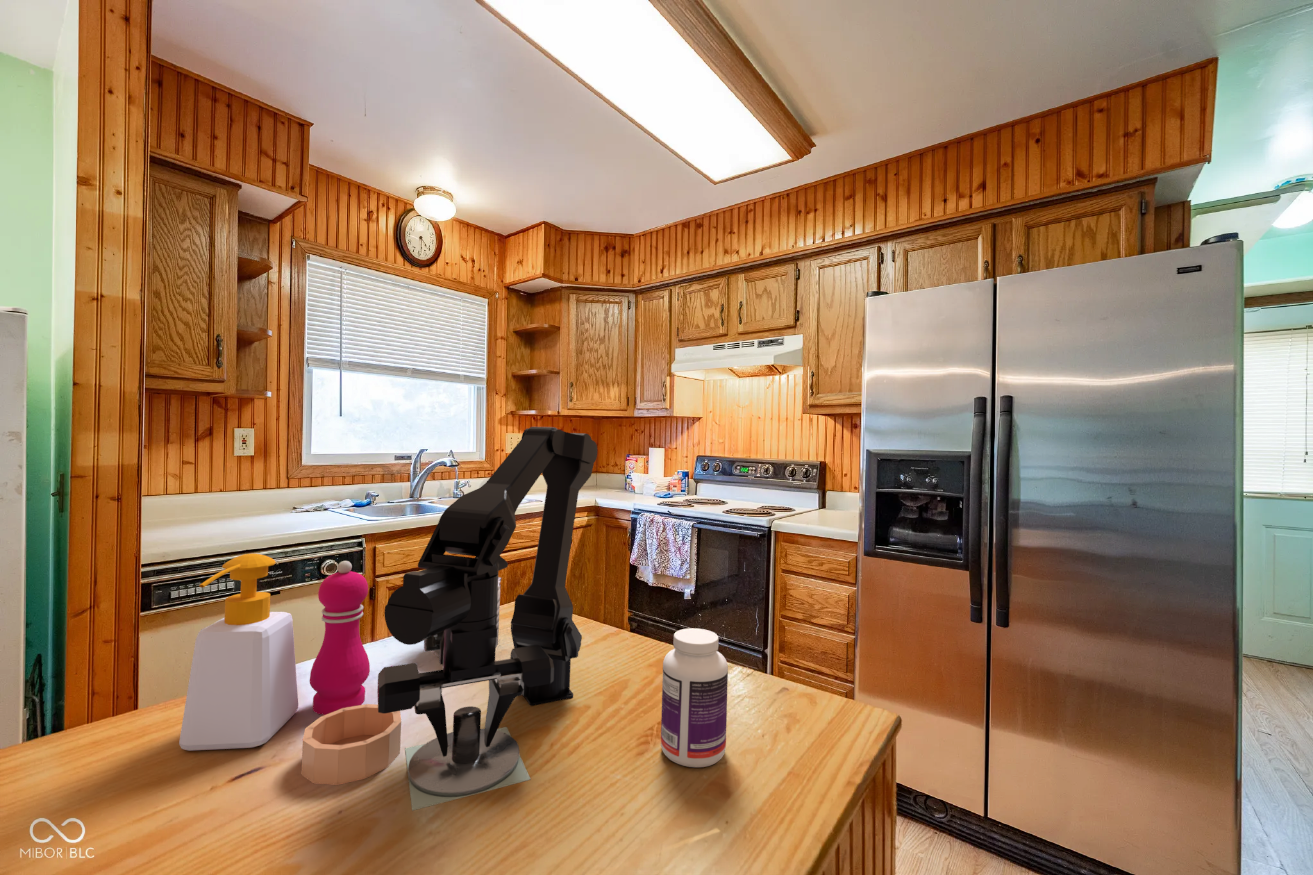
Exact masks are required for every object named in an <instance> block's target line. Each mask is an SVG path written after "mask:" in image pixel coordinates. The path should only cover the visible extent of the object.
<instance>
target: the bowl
mask: <svg viewBox="0 0 1313 875" xmlns="http://www.w3.org/2000/svg"><path fill="white" fill-rule="evenodd" d="M401 734H402V717H401V711H396V712H391V713H385V714H384V713H379V712H378V704H375V703H374V704H372V703H365V704H364V703H363V704H362V705H358V706H352V707H347V708H342V709H339V710H337V711H334V712H332V713H329V714H327V715H321V716H320V717H318V718H316V720H314V722H311V724H309V725H308V726H306V728H304V733H303V739H302V748H301V751H302V753H301V772H300V773H301V776H302V777H304V778H305V779H307V780H308V781H309V782H310V783H313V784H314V785H315V784H316V785H317V784H318V785H319V784H320V785H334V786H335V785H336V786H338V785H343V784H347V783H352V782H356V781H361V780H364V779H367V778H369V777H372V776H373V775H375V774H377V773H379V772H381V771H382V770H385V769H386V768H389V766H391V764H393V762H394V761H395V760H396V759H397V758H398V757H399V756H400V754H401V741H402V740H401V739H402V737H401V736H402V735H401Z"/></svg>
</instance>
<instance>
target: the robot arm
mask: <svg viewBox="0 0 1313 875" xmlns="http://www.w3.org/2000/svg"><path fill="white" fill-rule="evenodd" d="M597 458H598V445H597V442H596V441H595V440H593V439H592V436H591V435H590V434H588V433H578V432H577V433H576V432H567V431H564V430H563V429H558V428H557V427H553V426H530V427H529V428H528V427H527V428H525V429H524V430H523V432H522V434H521V439H520V440H519V442H518V443H517V444H516V445H515V446H514V448H512V450H511V452H509V454H508V455H507V456H506V458H505V459H504V460H503V461H502V463H500V464H499V466H498V468H496V469H495V471H494V472H493V473H492V475H491V476H490V477H489V479H488V480H486V482H485V483H484V484H483V485H482V486H480V487H479V488H477V489H474V490H472V491H470V492H466V493H465V494H463V495H461V496H460V497H459V498H457V499H456V500H455V501H454V502H452V504H450V505H449V506H448V507H447V508H446V509H445V510H444V511H443V513H442V514H441V516H440V517H439V520H438V522H437V524H436V526H435V529H434V531H433V533H432V535H431V537H430V539H429V541H428V543H427V545H426V547H425V549H424V550H423V553H422V554H421V557H420V558H419V561H418V563H417V567H418V568H419V569H422V570H418V571H417V570H415V571H409V572H406V573H404V575H402V576H403V577H402V578H403V579H402V581H403V582H402V586H400V587H398V588H396V589H395V590H394V591H393V592H392V593H391V594H390V596H389V598H388V601H387V603H386V605H385V606H384V621H385V623H386V628H387V629H388V631H389V633H390V634H391V635H392V637H393V638H394V639H395V640H397V642H399V643H401V644H403V645H407V646H408V645H409V646H411V645H417V644H419V643H422V642H423V651H424V652H432V651H434V650H440V655H439V657H438V658H439V659H438V660H439V664H440V665H442V669H438V670H432V671H425V672H419V668H418V663H417V662H412V663H411V662H410V663H405V664H398V665H392V666H385V667H383V668H382V669H381V670H380V671H379V673H378V675H377V705H378V712H379V713H384V714H385V713H391V712H396V711H400V712H401V711H405V710H406V711H407V710H412V709H413V708H414V713H415V714H416V715H426V717H427V719H428V721H429V723H430V725H431V726H432V728H433V730H434V732H435V735H436V738H437V739H438V742H439V745H440V748H441V752H442V755H443V757H445V756H447V750H448V740H447V734H448V730H447V715H446V705H445V701H444V697H443V693H442V692H443V689H445V688H451V687H457V686H464V685H468V684H469V685H470V684H476V683H480V682H487V681H488V700H487V708H486V713H485V714H486V715H485V722H484V729H485V730H484V743H485V746H486V747H489V746H490V744H491V742H492V740H493V738H494V736H495V733H496V731H497V729H499V728H500V724H501V723H502V722H503V718H504V716H505V715H506V714H507V712H508V710H509V709H510V707H511V705H512V704H513V702H514V700H515V699H516V698H517V697H520V696H523V697H524V698H525V700H526V702H527V703H528V705H529V706H530V707H533V706H539V705H543V704H549V703H554V702H555V703H556V702H559V701H565V700H568V699H573V698H574V692H572V690H571V689H570V688H571V687H570V686H571V663H572V661H571V660H572V659H577V658H578V657H579V653H580V651H581V646H582V638H583V635H582V634H581V632H580V630H579V629H578V627H577V626H576V624H575V622H574V620H573V612H574V605H573V602H572V600H571V598H570V595H569V593H568V591H567V587H566V583H567V582H566V580H567V575H568V574H567V573H568V567H569V560H570V554H571V546H572V540H573V534H574V527H575V518H576V511H577V505H578V498H579V491H581V489H582V488H583V486H584V485H585V484H586V483H587V482H588V480H589V479H590V478H591V476H592V473H593V470H594V464H595V462H596V461H597ZM541 475H542V477H543V480H544V482H545V484H546V493H545V498H544V504H543V510H542V511H543V512H542V518H541V524H540V529H539V530H540V531H539V535H538V541H537V542H538V544H537V549H536V554H535V561H534V567H533V576H532V580H531V584H530V585H529V586H528V587H527V589H526V590H525V591H524V592H523V594H520V593H518V595H517V596H516V598H515V599H514V609H513V614H512V617H511V619H510V620H511V621H510V632H511V633H510V634H511V638H512V644H513V648H512V649H511V652H510V654H509V655H510V658H504V659H499V660H498V659H497V660H496V652H497V650H496V649H497V647H496V637H497V627H496V625H497V599H498V577H499V571H501V570H504V569H507V568H508V566H509V563H508V562H507V561H506V560H505V558H503V557H502V556H501V555H502V554H503V552H504V551H505V550H506V548H507V546H508V544H509V542H510V541H511V538H512V537H513V535H514V532H515V530H516V528H517V521H516V511H517V510H518V507H519V506H520V505H521V503H522V502H523V501H524V499H525V497H526V496H527V495H528V493H529V491H531V489H532V488H533V486H535V483H536V482H537V481H538V479H539V477H540V476H541ZM445 553H448V554H445ZM451 554H453V555H451Z"/></svg>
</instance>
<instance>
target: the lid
mask: <svg viewBox="0 0 1313 875" xmlns="http://www.w3.org/2000/svg"><path fill="white" fill-rule="evenodd" d="M481 717H482V710H481V708H479V707H476V706H470V705H469V706H463V707H461V708H458V709H456V710H455V711H454V712H453V716H452V718H453V720H452V726H453V727H452V732H451V731H450V732H447V740H448V750H447V756H445V757H443V755H442V752H441V748H440V745H439V742H438V739H437V737H434V738H433V739H431V740H430V741H427V742H426V743H424V744H425V745H423V744H422V745H423V746H422V747H421V748H419V749H418V750H417V751H416V752H415V753H414V755H413V756H412V758H411V760H410V762H409V771H408V770H407V776H408V777H409V778H408V782H409V781H410V782H411V784H412V785H413V786H414V787H415V788H416V789H417V790H419V791H421V792H423V793H425V794H428V795H432V796H438V797H460V796H466V797H468V796H467V795H470V796H472V795H471V794H474V795H476V794H475V793H478V794H480V793H479V792H482V791H485V790H487V789H490V788H492V787H494V786H496V785H497V784H499V783H501V782H502V781H504V780H505V779H506V778H508V777H509V776H510V775H511V774H512V773H513V771H514V770H515V768H516V767H517V765H518V762H519V755H520V747H519V744H518V742H517V741H516V739H514V737H512V736H509V735H507V734H506V733H503V732H500V731H496V733H495V736H494V738H493V740H492V742H491V744H490V746H489V747H486V746H485V743H484V730H485V728H481V721H482V718H481ZM482 793H483V792H482Z"/></svg>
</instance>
